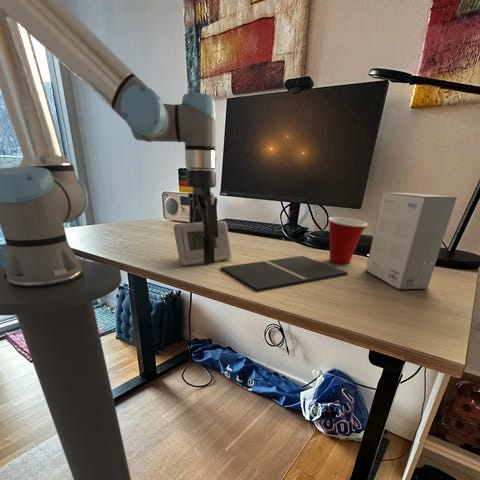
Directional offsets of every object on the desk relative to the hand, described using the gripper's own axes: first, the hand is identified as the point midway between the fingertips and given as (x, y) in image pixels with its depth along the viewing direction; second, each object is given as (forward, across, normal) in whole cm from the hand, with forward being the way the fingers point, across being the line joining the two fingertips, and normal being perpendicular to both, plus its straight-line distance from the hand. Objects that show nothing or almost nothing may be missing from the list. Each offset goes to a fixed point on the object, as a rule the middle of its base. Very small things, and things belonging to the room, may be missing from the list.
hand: (203, 258), depth 86 cm
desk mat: (0, -18, -15) cm, 24 cm away
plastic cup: (+1, -18, -37) cm, 41 cm away
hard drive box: (+1, -36, -37) cm, 51 cm away
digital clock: (+1, -1, 0) cm, 1 cm away
